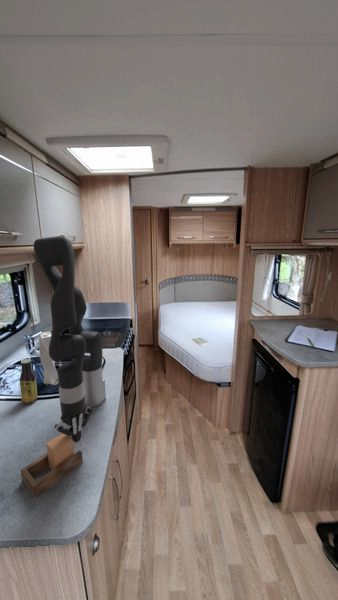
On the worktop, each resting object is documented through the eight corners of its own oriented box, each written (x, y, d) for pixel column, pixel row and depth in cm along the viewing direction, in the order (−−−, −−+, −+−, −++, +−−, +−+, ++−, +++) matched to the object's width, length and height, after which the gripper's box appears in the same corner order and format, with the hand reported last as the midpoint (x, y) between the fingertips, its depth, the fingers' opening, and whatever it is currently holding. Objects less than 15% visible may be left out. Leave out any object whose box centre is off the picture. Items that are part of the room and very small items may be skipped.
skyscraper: (54, 387, 122) (48, 334, 115) (39, 385, 123) (32, 333, 117) (64, 378, 130) (59, 328, 123) (50, 376, 131) (44, 327, 125)
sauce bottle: (18, 404, 109) (12, 363, 104) (29, 395, 115) (23, 356, 110) (31, 406, 108) (26, 365, 103) (41, 397, 114) (36, 358, 109)
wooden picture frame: (69, 448, 86) (68, 439, 85) (82, 461, 81) (81, 451, 80) (22, 480, 74) (20, 470, 74) (35, 498, 69) (33, 487, 68)
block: (66, 454, 84) (64, 431, 81) (74, 462, 81) (72, 439, 78) (49, 466, 79) (46, 443, 77) (57, 475, 76) (54, 451, 74)
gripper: (83, 382, 86) (87, 424, 90) (46, 400, 76) (51, 447, 80) (96, 390, 81) (99, 434, 85) (58, 411, 71) (64, 459, 75)
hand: (76, 440), depth 83 cm, fingers closed
